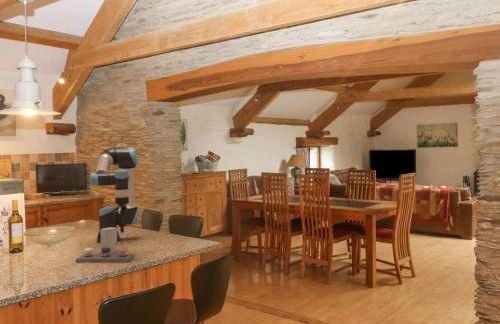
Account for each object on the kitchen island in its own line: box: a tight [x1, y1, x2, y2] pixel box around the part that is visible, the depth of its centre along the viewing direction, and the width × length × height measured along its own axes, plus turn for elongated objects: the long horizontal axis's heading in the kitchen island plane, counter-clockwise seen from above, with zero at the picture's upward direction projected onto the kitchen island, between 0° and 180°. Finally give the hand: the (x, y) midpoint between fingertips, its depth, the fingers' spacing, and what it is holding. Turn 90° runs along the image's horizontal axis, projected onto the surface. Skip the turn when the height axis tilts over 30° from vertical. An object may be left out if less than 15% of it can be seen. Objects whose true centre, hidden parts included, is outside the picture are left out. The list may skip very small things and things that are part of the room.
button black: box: [100, 247, 110, 257], centre depth 262 cm, size 5×5×5 cm
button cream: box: [83, 247, 94, 257], centre depth 263 cm, size 5×5×5 cm
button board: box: [75, 252, 136, 264], centre depth 263 cm, size 12×30×2 cm, turn 89°
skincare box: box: [100, 227, 118, 254], centre depth 280 cm, size 8×6×15 cm
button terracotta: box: [118, 246, 129, 257], centre depth 262 cm, size 5×5×5 cm
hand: (122, 237), depth 262 cm, fingers closed
